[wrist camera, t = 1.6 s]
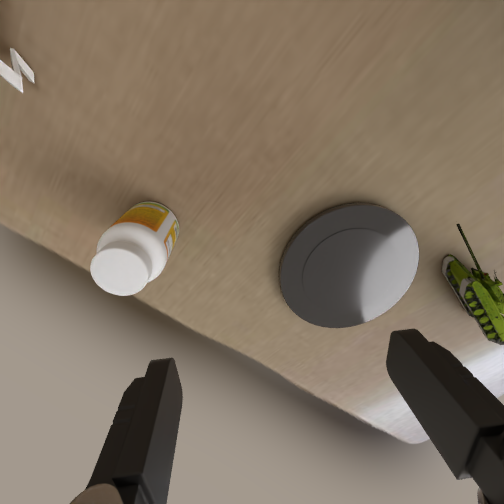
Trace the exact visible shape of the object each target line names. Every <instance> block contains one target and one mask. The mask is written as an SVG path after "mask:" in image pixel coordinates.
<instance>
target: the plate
mask: <svg viewBox="0 0 504 504" xmlns="http://www.w3.org/2000/svg"><path fill="white" fill-rule="evenodd" d="M418 262H419V247H418V241H417V239H416V236H415V233H414V232H413V230H412V228H411V227H410V225H409V224H408V223H407V222H406V221H405V220H404V219H403V218H402V217H401V216H399V215H398V214H396V213H394V212H393V211H391V210H389V209H387V208H385V207H382V206H380V205H375V204H371V203H349V204H344V205H340V206H336V207H333V208H330V209H328V210H326V211H324V212H322V213H320V214H318V215H316V216H315V217H313V218H312V219H310V220H309V221H308V222H307V223H305V224H304V225H303V226H302V227H301V228H300V229H299V230H298V231H297V232H296V233H295V235H294V236H293V237H292V238H291V240H290V242H289V243H288V245H287V247H286V249H285V251H284V253H283V256H282V259H281V262H280V269H279V281H280V287H281V290H282V293H283V296H284V299H285V301H286V303H287V304H288V306H289V307H290V308H291V310H292V311H293V312H294V313H295V314H296V315H298V316H299V317H300V318H302V319H303V320H305V321H307V322H309V323H312V324H314V325H317V326H321V327H328V328H345V327H351V326H356V325H359V324H363V323H365V322H368V321H370V320H372V319H374V318H376V317H378V316H380V315H381V314H383V313H385V312H386V311H387V310H389V309H390V308H391V307H392V306H394V305H395V304H396V303H397V302H398V301H399V300H400V299H401V297H402V296H403V295H404V294H405V293H406V291H407V290H408V288H409V287H410V285H411V283H412V281H413V279H414V277H415V274H416V271H417V267H418Z"/></svg>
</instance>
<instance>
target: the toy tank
mask: <svg viewBox="0 0 504 504" xmlns="http://www.w3.org/2000/svg"><path fill="white" fill-rule="evenodd" d="M457 227H458V229H459V231H460V233H461V235H462V237H463V239H464V241H467V239H466V237H465V235H464V233H463V231H462V229H461V227H460V224H459V223H458V224H457ZM461 231H462V232H461ZM462 233H463V234H462ZM465 239H466V240H465ZM465 244H466V242H465ZM467 245H468V246H467ZM466 246H467V248H468V247H469V248H468V250H469V252H470V254H471V256H472V258H473V260H474V259H475V260H474V262H475V261H476V262H477V260H476V258H475V256H474V254H473V252H472V250H471V248H470V246H469V244H468V241H467V244H466ZM475 265H476V267H477V269H478V270H476V269H474V268H471V270H472V274H473V275H472V274H471V272H469V271H468V270H467V269H466V268H465V267H464V265H462V264H461V263H460V262H459V261H458V260H457V259H456V258H455V256H453V255H451V254H450V255H448V257H446V258H445V259H444V261H443V267H442V272H443V274H444V276H445V277H446V279H447V280H448V282H449V284H450V285H451V287H452V286H453V287H452V288H453V290H454V292H455V294H456V296H457V297H458V299H459V301H460V302H461V304H462V306H463V307H464V309H465V308H466V309H465V311H466V312H467V313H468V315H469V316H471V317H474V318H475V320H476V321H477V323H478V325H479V327H480V329H481V330H482V332H483V334H484V335H485V337H486V338H487V339H488V340H489V341H492V342H495V343H497V344H500V345H504V316H503V315H501V314H500V313H502V314H504V294H503V293H502V291H501V290H500V288H499V286H500V285H503V284H502V283H501V282H500V281H499V280H498V279H495V282H493V281H492V280H491V279H490V276H488V275H489V274H488V273H483V272H482V270H481V271H479V270H480V269H481V268H480V266H479V264H478V262H477V264H476V263H475ZM447 266H448V267H447ZM494 272H495V271H494ZM494 274H495V273H494ZM495 275H496V274H495ZM495 277H496V276H495ZM495 277H494V278H495ZM449 278H450V279H449ZM496 278H497V277H496ZM496 280H497V281H496ZM479 323H480V324H479Z"/></svg>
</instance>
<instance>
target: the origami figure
mask: <svg viewBox="0 0 504 504" xmlns="http://www.w3.org/2000/svg"><path fill="white" fill-rule="evenodd" d="M10 56H11V63H12V69H13V70H12V69H11V68H10V67H8V66H7V65H6V64H5V63H4V62H2V61H1V60H0V76H2V77H3V78H4V79H5V80H6V81H7V82H9V83H10V84H11V85H12V86H13V87H14V88H16V89H17V90H19V91H20V92H22V93H23V84H22V76H21V73H20V70H21V71H22V72H23V74H24V75H25V76H26V77H27V79H28V80H29V81H31V82H33V83H34V72H33V71H32V70H31V69H30V67H29V66H28V65H27V64H26V63H25V61H24V60H23V59H22V58H21V57H20V55H19V54H18V53H17V52H16V51H15V50H14V49H12V48H10Z"/></svg>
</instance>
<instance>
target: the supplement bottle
mask: <svg viewBox="0 0 504 504" xmlns="http://www.w3.org/2000/svg"><path fill="white" fill-rule="evenodd" d="M178 233H179V225H178V221H177V219H176V217H175V215H174V214H173V213H172V212H171V211H170V210H169V209H168V208H167V207H165V206H164V205H162V204H159V203H156V202H142V203H139V204H136V205H135V206H133V207H132V208H130V209H129V210H128V211H127V212H126V213H125V214H124V215H123V216H122V217H120V218H119V219H118V220H117V221H116V222H115V223H114V224H113V225H112V226H111V227H110V228H108V229H107V230H106V231H105V232H104V233H103V235H102V236H101V238H100V240H99V242H98V244H97V254H96V255H95V256H94V257H93V259H92V262H91V266H90V270H91V275H92V277H93V279H94V281H95V282H96V283H97V284H98V286H100V287H101V288H102V289H104V290H105V291H107V292H109V293H111V294H115V295H121V296H126V295H132V294H135V293H137V292H139V291H140V290H142V289H143V288H144V287H145V285H146V284H147V282H150V281H152V280H154V279H155V278H156V277H157V276H158V275H159V274H160V273H161V272H162V270H163V269H164V267H165V265H166V263H167V260H168V258H169V256H170V253H171V251H172V249H173V247H174V244H175V242H176V240H177V237H178Z"/></svg>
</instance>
